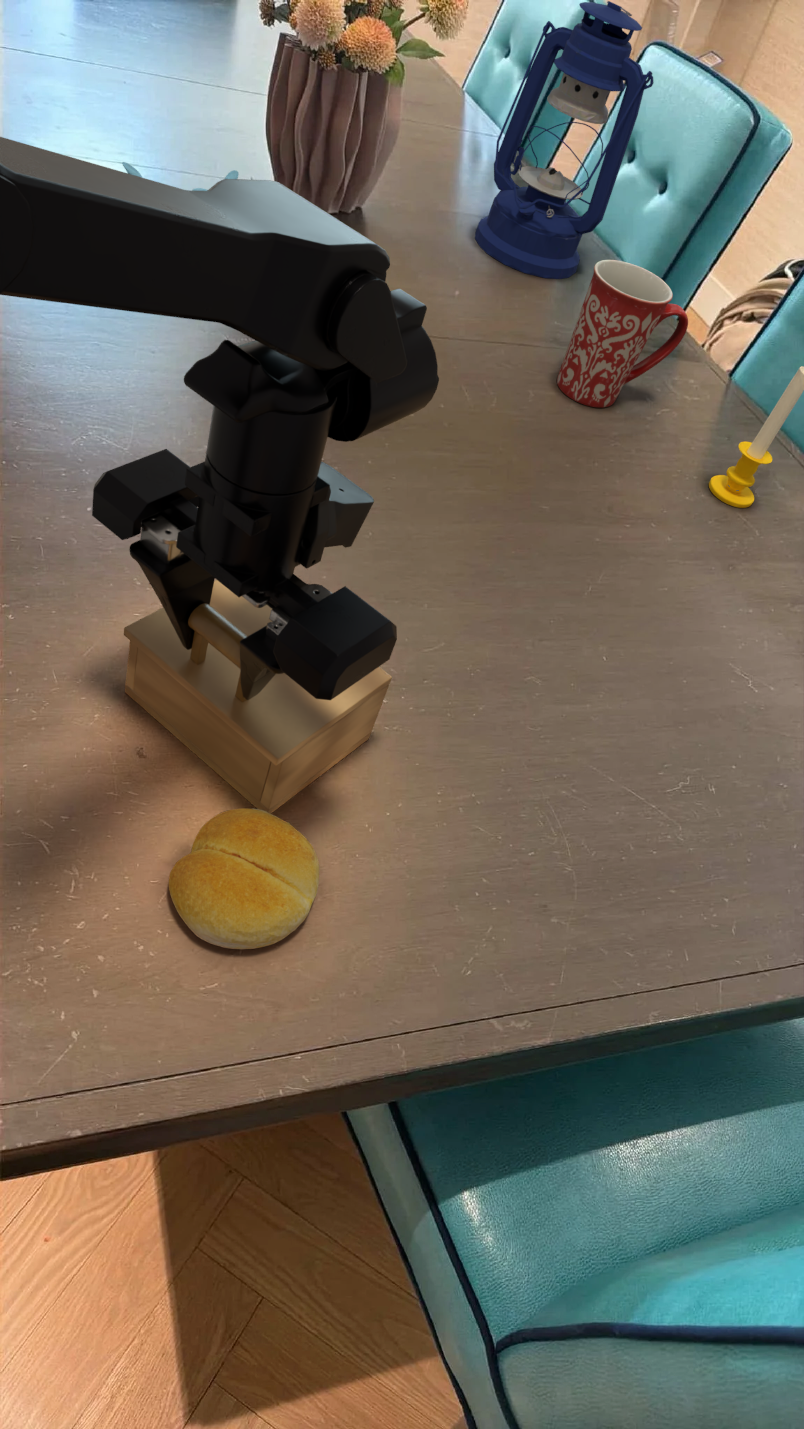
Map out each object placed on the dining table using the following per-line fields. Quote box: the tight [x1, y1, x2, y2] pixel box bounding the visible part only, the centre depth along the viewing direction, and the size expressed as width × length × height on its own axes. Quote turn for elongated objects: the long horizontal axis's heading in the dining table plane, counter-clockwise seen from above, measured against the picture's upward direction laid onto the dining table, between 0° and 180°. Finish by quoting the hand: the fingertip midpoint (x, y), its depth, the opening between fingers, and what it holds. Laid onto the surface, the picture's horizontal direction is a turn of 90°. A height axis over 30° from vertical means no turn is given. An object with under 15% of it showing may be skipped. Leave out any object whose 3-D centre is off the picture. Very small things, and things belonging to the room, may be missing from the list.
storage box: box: [124, 640, 390, 814], centre depth 67 cm, size 11×14×6 cm
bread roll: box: [168, 808, 320, 950], centre depth 59 cm, size 8×9×4 cm
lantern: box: [474, 0, 655, 280], centre depth 129 cm, size 17×15×30 cm
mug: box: [556, 259, 689, 408], centre depth 112 cm, size 13×9×14 cm
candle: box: [708, 365, 804, 509], centre depth 104 cm, size 5×5×16 cm
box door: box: [123, 579, 393, 765], centre depth 63 cm, size 11×14×5 cm
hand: (221, 670), depth 62 cm, fingers closed on box door, 5 cm apart
